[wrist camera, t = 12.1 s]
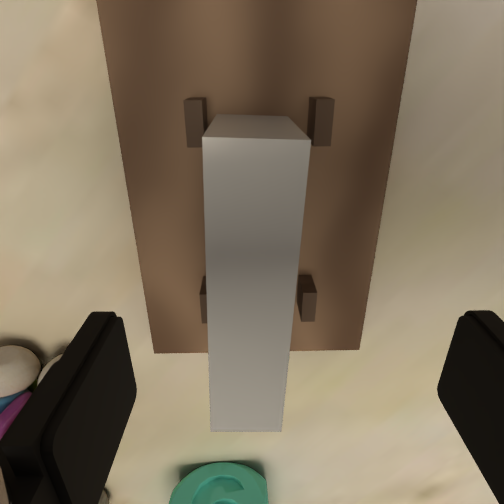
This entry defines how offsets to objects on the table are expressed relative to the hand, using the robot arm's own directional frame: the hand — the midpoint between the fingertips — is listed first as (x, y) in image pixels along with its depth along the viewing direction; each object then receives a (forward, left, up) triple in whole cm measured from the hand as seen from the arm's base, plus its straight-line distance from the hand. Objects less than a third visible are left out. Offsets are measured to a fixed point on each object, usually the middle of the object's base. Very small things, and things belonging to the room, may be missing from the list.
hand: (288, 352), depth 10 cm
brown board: (0, 0, -13) cm, 13 cm away
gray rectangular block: (+1, +2, -11) cm, 11 cm away
